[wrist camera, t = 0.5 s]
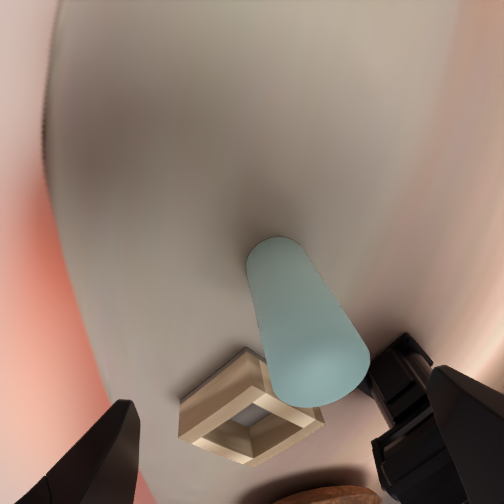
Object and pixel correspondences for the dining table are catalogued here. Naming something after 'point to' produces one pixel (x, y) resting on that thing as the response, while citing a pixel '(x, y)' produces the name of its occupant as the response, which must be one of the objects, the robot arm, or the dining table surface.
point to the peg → (303, 327)
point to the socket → (243, 414)
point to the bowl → (333, 496)
